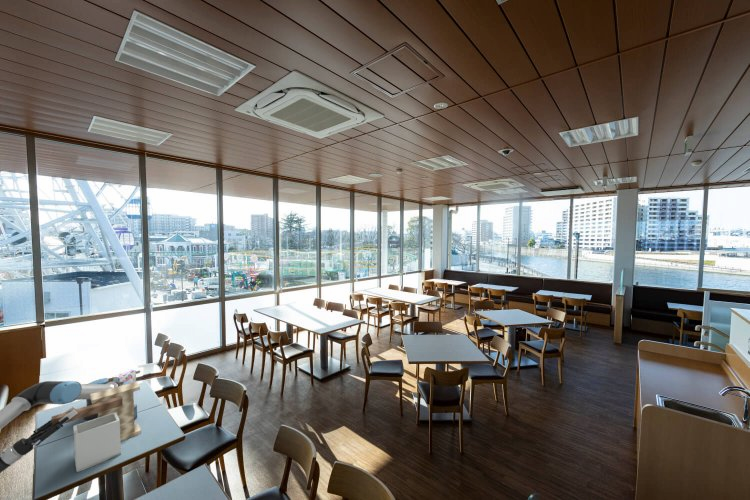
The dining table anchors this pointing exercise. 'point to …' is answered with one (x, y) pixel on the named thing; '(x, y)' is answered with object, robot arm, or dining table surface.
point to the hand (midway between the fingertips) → (75, 409)
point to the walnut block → (90, 410)
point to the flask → (135, 411)
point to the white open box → (96, 441)
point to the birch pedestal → (121, 407)
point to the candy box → (126, 377)
